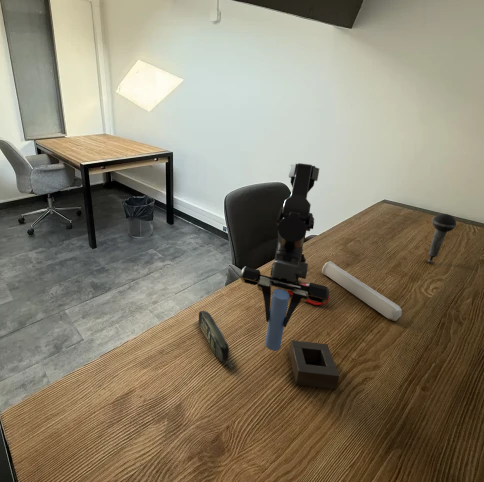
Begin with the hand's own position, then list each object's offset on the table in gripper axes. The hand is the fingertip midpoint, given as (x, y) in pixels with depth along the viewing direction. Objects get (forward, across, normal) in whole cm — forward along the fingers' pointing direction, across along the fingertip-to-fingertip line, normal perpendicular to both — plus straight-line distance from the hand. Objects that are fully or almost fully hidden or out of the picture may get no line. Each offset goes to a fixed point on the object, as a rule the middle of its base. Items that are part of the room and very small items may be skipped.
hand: (275, 324), depth 65 cm
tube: (-17, +22, +35) cm, 45 cm away
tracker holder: (-13, +7, +31) cm, 34 cm away
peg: (+4, 0, +6) cm, 7 cm away
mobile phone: (+8, -14, +10) cm, 19 cm away
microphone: (-41, +49, +59) cm, 87 cm away
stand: (+7, +9, +11) cm, 16 cm away
